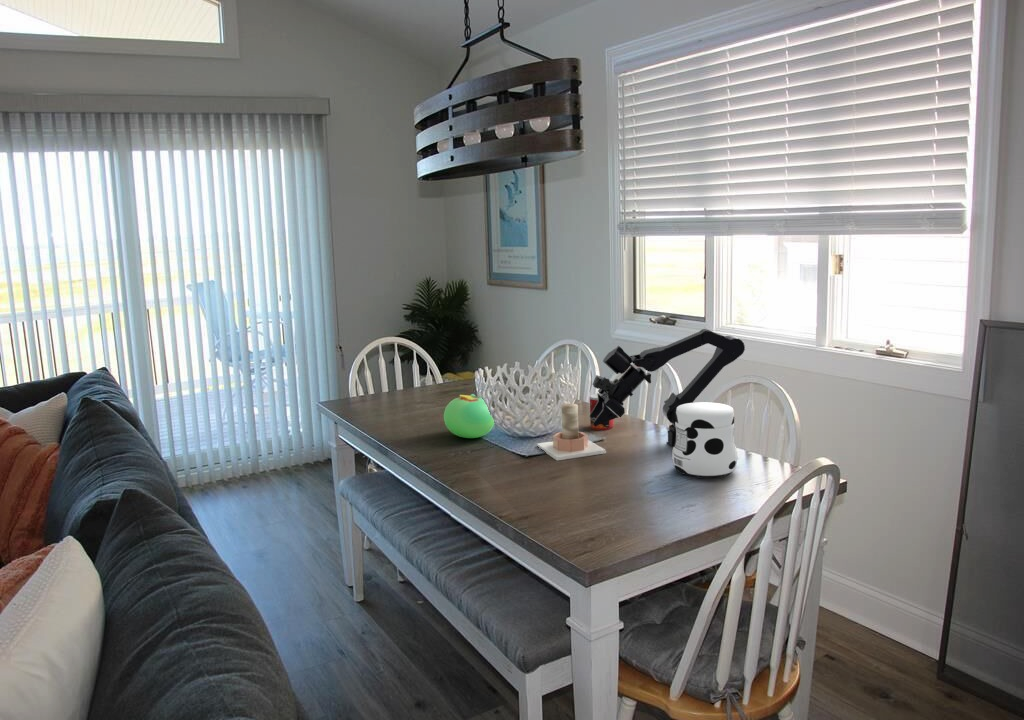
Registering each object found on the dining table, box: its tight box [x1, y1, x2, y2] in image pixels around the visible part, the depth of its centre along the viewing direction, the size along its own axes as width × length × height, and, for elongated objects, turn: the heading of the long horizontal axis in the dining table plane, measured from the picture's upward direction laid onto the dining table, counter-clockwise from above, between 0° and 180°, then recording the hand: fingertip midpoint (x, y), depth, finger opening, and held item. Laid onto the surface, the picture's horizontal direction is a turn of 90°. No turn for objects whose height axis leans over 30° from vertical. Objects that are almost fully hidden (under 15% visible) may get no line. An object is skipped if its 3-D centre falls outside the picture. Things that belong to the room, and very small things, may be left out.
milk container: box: [671, 401, 738, 479], centre depth 210 cm, size 17×17×18 cm
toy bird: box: [443, 393, 496, 439], centre depth 255 cm, size 18×17×15 cm
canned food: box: [589, 392, 614, 431], centre depth 260 cm, size 8×8×11 cm
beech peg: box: [561, 403, 580, 440], centre depth 236 cm, size 5×5×13 cm
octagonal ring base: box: [536, 431, 607, 461], centre depth 237 cm, size 16×16×4 cm
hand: (592, 421), depth 235 cm, fingers open, 9 cm apart
